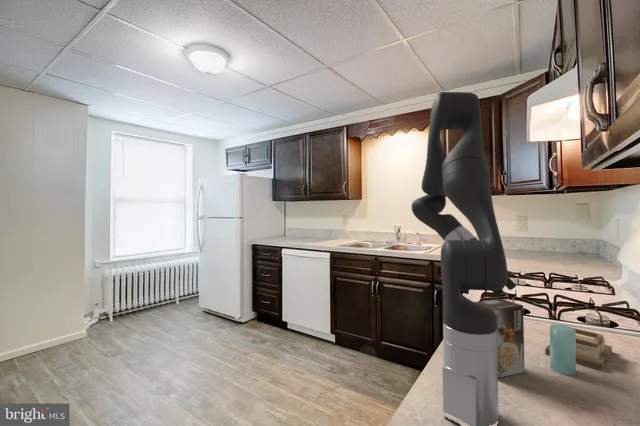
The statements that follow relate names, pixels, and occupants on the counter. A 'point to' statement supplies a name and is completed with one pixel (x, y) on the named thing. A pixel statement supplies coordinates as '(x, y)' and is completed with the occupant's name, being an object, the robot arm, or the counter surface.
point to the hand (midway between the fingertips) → (507, 291)
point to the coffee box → (508, 335)
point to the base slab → (593, 344)
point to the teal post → (563, 349)
